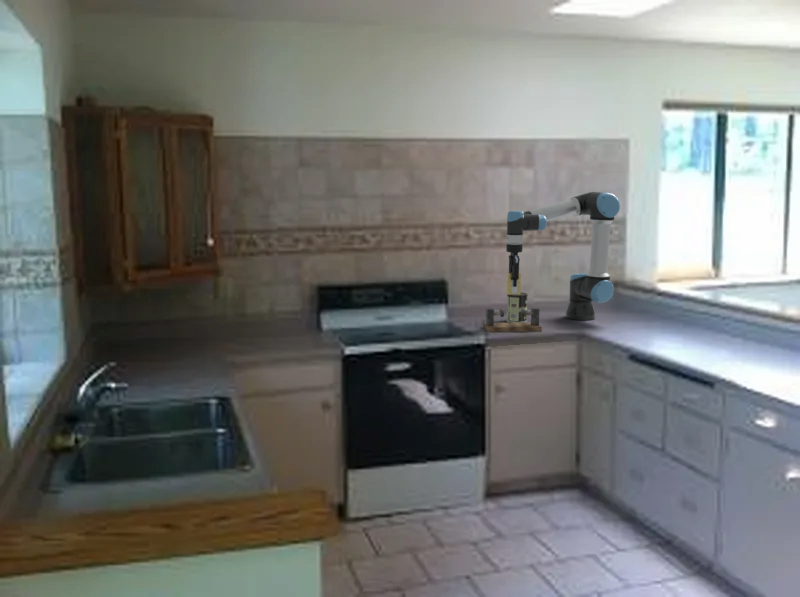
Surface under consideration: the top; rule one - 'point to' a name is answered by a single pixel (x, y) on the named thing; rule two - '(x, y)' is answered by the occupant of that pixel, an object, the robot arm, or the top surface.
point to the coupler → (509, 283)
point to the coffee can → (516, 307)
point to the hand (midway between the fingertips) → (513, 292)
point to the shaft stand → (501, 327)
